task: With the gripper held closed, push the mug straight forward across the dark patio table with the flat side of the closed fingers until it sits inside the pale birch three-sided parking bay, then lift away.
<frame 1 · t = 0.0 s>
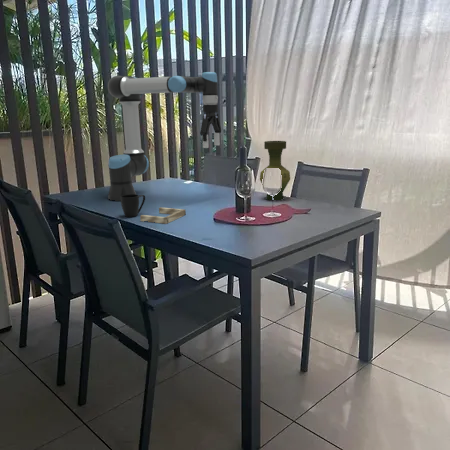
hand: (211, 146, 232), 28 cm above the table, fingers open, 13 cm apart
bay: (162, 217, 204), on the table
mug: (134, 215, 209), on the table
vase: (274, 199, 238), on the table
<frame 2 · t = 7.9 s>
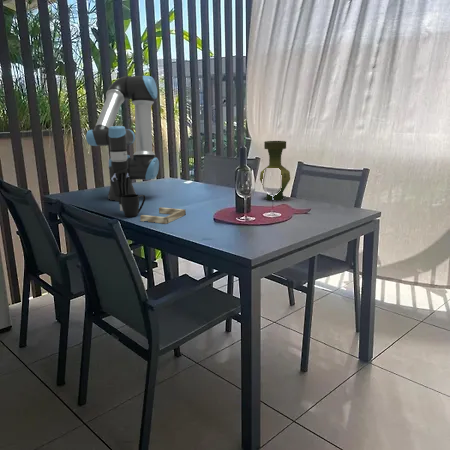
hand: (123, 210, 211), 2 cm above the table, fingers closed
mug: (134, 215, 209), on the table, touching gripper
everything else where it was.
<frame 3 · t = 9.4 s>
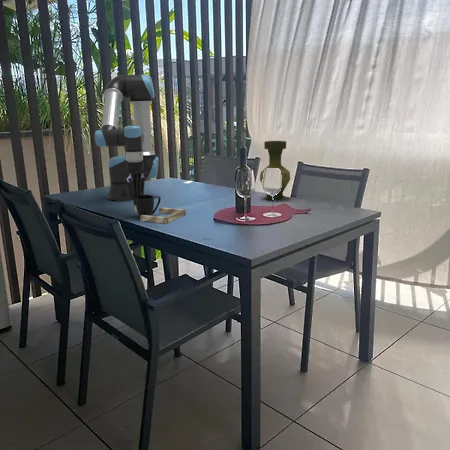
hand: (138, 211, 208), 2 cm above the table, fingers closed
mug: (149, 216, 206), on the table, touching gripper
everything else where it was.
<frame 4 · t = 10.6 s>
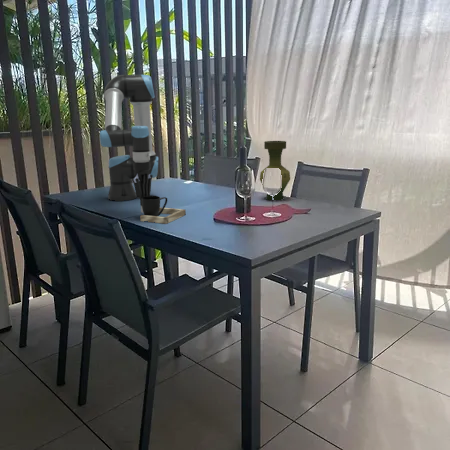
hand: (144, 212, 206), 2 cm above the table, fingers closed
mug: (155, 217, 204), on the table, touching gripper, hand
everything else where it was.
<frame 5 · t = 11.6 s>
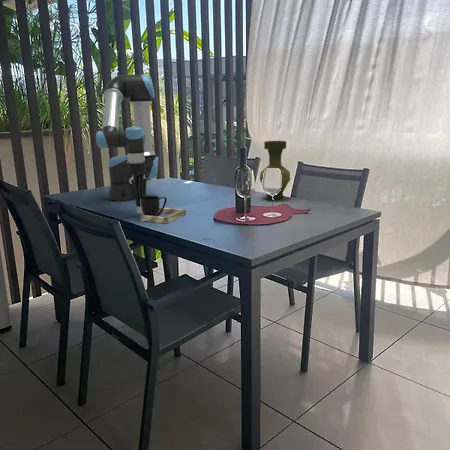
hand: (140, 212, 208), 1 cm above the table, fingers closed
mug: (155, 218, 204), on the table
everything else where it was.
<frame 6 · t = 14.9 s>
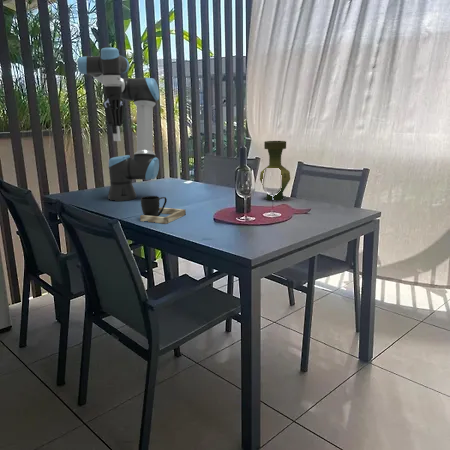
hand: (117, 140, 200), 34 cm above the table, fingers closed
nothing on the table moved.
at the end: mug inside the target area on the bay (3.1 cm from its centre), point 0.0 cm above the bay's base; mug tilted 0°; mug moved 11.8 cm from its start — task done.
